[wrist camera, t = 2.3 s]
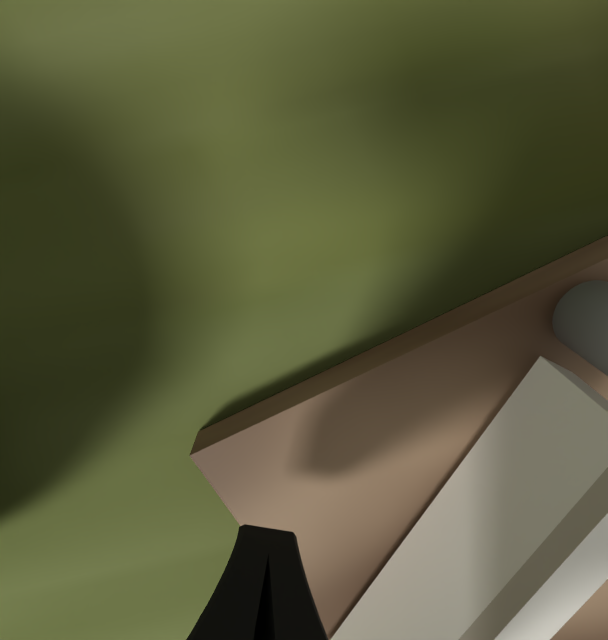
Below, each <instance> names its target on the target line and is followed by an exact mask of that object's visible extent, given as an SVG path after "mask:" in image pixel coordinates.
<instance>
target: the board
mask: <svg viewBox="0 0 608 640" xmlns="http://www.w3.org/2000/svg"><path fill="white" fill-rule="evenodd" d="M593 280H601V281H607V282H608V235H607V236H605V237H603V238H601V239H599V240H597V241H595V242H593V243H591V244H589V245H587V246H585V247H582V248H580V249H578V250H576V251H574V252H572V253H570V254H568V255H566V256H564V257H562V258H559V259H557V260H555V261H553V262H551V263H549V264H547V265H545V266H543V267H541V268H539V269H537V270H534V271H532V272H530V273H528V274H526V275H524V276H522V277H520V278H518V279H516V280H514V281H511V282H509V283H507V284H505V285H503V286H501V287H499V288H497V289H495V290H493V291H491V292H489V293H486V294H484V295H482V296H480V297H478V298H476V299H474V300H472V301H470V302H468V303H466V304H464V305H461V306H459V307H457V308H455V309H453V310H451V311H449V312H447V313H445V314H443V315H441V316H438V317H436V318H434V319H432V320H430V321H428V322H426V323H424V324H422V325H420V326H418V327H416V328H413V329H411V330H409V331H407V332H405V333H403V334H401V335H399V336H397V337H395V338H393V339H390V340H388V341H386V342H384V343H382V344H380V345H378V346H376V347H374V348H372V349H370V350H368V351H365V352H363V353H361V354H359V355H357V356H355V357H353V358H351V359H349V360H347V361H345V362H342V363H340V364H338V365H336V366H334V367H332V368H330V369H328V370H326V371H324V372H322V373H320V374H317V375H315V376H313V377H311V378H309V379H307V380H305V381H303V382H301V383H299V384H297V385H295V386H292V387H290V388H288V389H286V390H284V391H282V392H280V393H278V394H276V395H274V396H272V397H269V398H267V399H265V400H263V401H261V402H259V403H257V404H255V405H253V406H251V407H249V408H247V409H244V410H242V411H240V412H238V413H236V414H234V415H232V416H230V417H228V418H226V419H224V420H221V421H219V422H217V423H215V424H213V425H211V426H209V427H207V428H205V429H203V430H201V431H199V432H198V434H197V436H196V439H195V442H194V445H193V448H192V450H191V453H190V457H191V458H192V460H193V461H194V462H195V464H196V465H197V466H198V468H199V469H200V471H201V472H202V473H203V475H204V476H205V477H206V479H207V480H208V482H209V483H210V484H211V486H212V487H213V488H214V490H215V491H216V493H217V494H218V495H219V497H220V498H221V500H222V501H223V502H224V504H225V505H226V506H227V508H228V509H229V511H230V512H231V513H232V515H233V516H234V517H235V519H236V520H237V522H238V523H239V524H240V526H242V525H244V524H247V525H253V526H259V527H266V528H272V529H278V530H284V531H291V532H294V534H295V535H296V537H297V543H298V547H299V552H300V556H301V560H302V564H303V567H304V571H305V574H306V578H307V581H308V584H309V587H310V590H311V593H312V596H313V599H314V602H315V605H316V608H317V610H318V613H319V616H320V619H321V622H322V624H323V627H324V629H325V632H326V634H327V637H328V639H329V640H331V638H332V637H333V635H334V634H335V633H336V631H337V630H338V629H339V627H340V626H341V625H342V623H343V622H344V621H345V619H346V618H347V617H348V615H349V614H350V612H351V611H352V610H353V608H354V607H355V606H356V604H357V603H358V602H359V600H360V599H361V598H362V596H363V595H364V594H365V592H366V591H367V590H368V588H369V587H370V585H371V584H372V583H373V581H374V580H375V579H376V577H377V576H378V575H379V573H380V572H381V571H382V569H383V568H384V567H385V565H386V564H387V562H388V561H389V560H390V558H391V557H392V556H393V554H394V553H395V552H396V550H397V549H398V548H399V546H400V545H401V544H402V542H403V541H404V540H405V538H406V537H407V535H408V534H409V533H410V531H411V530H412V529H413V527H414V526H415V525H416V523H417V522H418V521H419V519H420V518H421V517H422V515H423V514H424V512H425V511H426V510H427V508H428V507H429V506H430V504H431V503H432V502H433V500H434V499H435V498H436V496H437V495H438V494H439V492H440V491H441V489H442V488H443V487H444V485H445V484H446V483H447V481H448V480H449V479H450V477H451V476H452V475H453V473H454V472H455V471H456V469H457V468H458V467H459V465H460V464H461V462H462V461H463V460H464V458H465V457H466V456H467V454H468V453H469V452H470V450H471V449H472V448H473V446H474V445H475V444H476V442H477V441H478V439H479V438H480V437H481V435H482V434H483V433H484V431H485V430H486V429H487V427H488V426H489V425H490V423H491V422H492V421H493V419H494V418H495V417H496V415H497V414H498V412H499V411H500V410H501V408H502V407H503V406H504V404H505V403H506V402H507V400H508V399H509V398H510V396H511V395H512V394H513V392H514V391H515V389H516V388H517V387H518V385H519V384H520V383H521V381H522V380H523V379H524V377H525V376H526V375H527V373H528V372H529V371H530V369H531V368H532V366H533V365H534V364H535V362H536V361H537V360H538V358H539V357H540V356H542V357H544V358H546V359H547V360H549V361H551V362H553V363H555V364H557V365H559V366H561V367H563V368H565V369H567V370H569V371H571V372H573V373H574V374H575V375H576V376H578V377H579V378H580V379H581V380H583V381H584V382H585V383H586V384H588V385H589V386H590V387H591V388H593V389H594V390H595V391H596V392H598V393H599V394H600V395H601V396H603V397H604V398H605V399H606V400H608V376H607V375H605V374H604V373H603V372H601V371H600V370H598V369H597V368H596V367H594V366H593V365H592V364H590V363H589V362H587V361H586V360H585V359H583V358H582V357H580V356H579V355H578V354H576V353H575V352H574V351H572V350H571V349H569V348H568V347H567V346H565V345H564V344H563V343H561V342H560V341H559V340H558V338H557V337H556V335H555V333H554V330H553V324H552V320H553V314H554V310H555V308H556V306H557V304H558V302H559V301H560V299H561V298H562V297H563V296H564V295H565V294H566V293H567V292H568V291H569V290H570V289H572V288H573V287H575V286H577V285H579V284H581V283H584V282H588V281H593ZM550 640H608V579H607V580H606V581H605V582H604V583H603V584H602V586H601V587H600V588H599V589H598V590H597V591H596V592H595V593H594V594H593V595H592V596H591V597H590V598H589V599H588V600H587V601H586V602H585V603H584V604H583V605H582V606H581V608H580V609H579V610H578V611H577V612H576V613H575V614H574V615H573V616H572V617H571V618H570V619H569V620H568V621H567V622H566V623H565V624H564V625H563V626H562V627H561V628H560V630H559V631H558V632H557V633H556V634H555V635H554V636H553V637H552V638H551V639H550Z"/></svg>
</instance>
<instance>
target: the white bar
mask: <svg viewBox="0 0 608 640" xmlns="http://www.w3.org/2000/svg"><path fill="white" fill-rule="evenodd" d="M552 324H553V330H554V333H555V335H556V337H557V338H558V340H559V341H560V342H561V343H563V344H564V345H565V346H567V347H568V348H569V349H571V350H572V351H574V352H575V353H576V354H578V355H579V356H580V357H582V358H583V359H585V360H586V361H587V362H589V363H590V364H592V365H593V366H594V367H596V368H597V369H598V370H600V371H601V372H603V373H604V374H605V375H607V376H608V282H607V281H601V280H593V281H588V282H584V283H581V284H579V285H577V286H575V287H573V288H572V289H570V290H569V291H568V292H567V293H566V294H565V295H564V296H563V297H562V298H561V299H560V301H559V302H558V304H557V306H556V308H555V310H554V314H553V320H552ZM607 579H608V400H606V399H605V398H604V397H603V396H601V395H600V394H599V393H598V392H596V391H595V390H594V389H593V388H591V387H590V386H589V385H588V384H586V383H585V382H584V381H583V380H581V379H580V378H579V377H578V376H576V375H575V374H574V373H573V372H571V371H569V370H567V369H565V368H563V367H561V366H559V365H557V364H555V363H553V362H551V361H549V360H547V359H546V358H544V357H542V356H540V357H539V358H538V360H537V361H536V362H535V364H534V365H533V366H532V368H531V369H530V371H529V372H528V373H527V375H526V376H525V377H524V379H523V380H522V381H521V383H520V384H519V385H518V387H517V388H516V389H515V391H514V392H513V394H512V395H511V396H510V398H509V399H508V400H507V402H506V403H505V404H504V406H503V407H502V408H501V410H500V411H499V412H498V414H497V415H496V417H495V418H494V419H493V421H492V422H491V423H490V425H489V426H488V427H487V429H486V430H485V431H484V433H483V434H482V435H481V437H480V438H479V439H478V441H477V442H476V444H475V445H474V446H473V448H472V449H471V450H470V452H469V453H468V454H467V456H466V457H465V458H464V460H463V461H462V462H461V464H460V465H459V467H458V468H457V469H456V471H455V472H454V473H453V475H452V476H451V477H450V479H449V480H448V481H447V483H446V484H445V485H444V487H443V488H442V489H441V491H440V492H439V494H438V495H437V496H436V498H435V499H434V500H433V502H432V503H431V504H430V506H429V507H428V508H427V510H426V511H425V512H424V514H423V515H422V517H421V518H420V519H419V521H418V522H417V523H416V525H415V526H414V527H413V529H412V530H411V531H410V533H409V534H408V535H407V537H406V538H405V540H404V541H403V542H402V544H401V545H400V546H399V548H398V549H397V550H396V552H395V553H394V554H393V556H392V557H391V558H390V560H389V561H388V562H387V564H386V565H385V567H384V568H383V569H382V571H381V572H380V573H379V575H378V576H377V577H376V579H375V580H374V581H373V583H372V584H371V585H370V587H369V588H368V590H367V591H366V592H365V594H364V595H363V596H362V598H361V599H360V600H359V602H358V603H357V604H356V606H355V607H354V608H353V610H352V611H351V612H350V614H349V615H348V617H347V618H346V619H345V621H344V622H343V623H342V625H341V626H340V627H339V629H338V630H337V631H336V633H335V634H334V635H333V637H332V638H331V640H550V639H551V638H552V637H553V636H554V635H555V634H556V633H557V632H558V631H559V630H560V628H561V627H562V626H563V625H564V624H565V623H566V622H567V621H568V620H569V619H570V618H571V617H572V616H573V615H574V614H575V613H576V612H577V611H578V610H579V609H580V608H581V606H582V605H583V604H584V603H585V602H586V601H587V600H588V599H589V598H590V597H591V596H592V595H593V594H594V593H595V592H596V591H597V590H598V589H599V588H600V587H601V586H602V584H603V583H604V582H605V581H606V580H607Z"/></svg>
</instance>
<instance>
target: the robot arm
mask: <svg viewBox="0 0 608 640" xmlns="http://www.w3.org/2000/svg"><path fill="white" fill-rule="evenodd" d="M187 640H329V639H328V637H327V634H326V632H325V629H324V627H323V624H322V622H321V619H320V616H319V613H318V610H317V608H316V605H315V602H314V599H313V596H312V593H311V590H310V587H309V584H308V581H307V578H306V574H305V571H304V567H303V564H302V560H301V556H300V552H299V547H298V543H297V537H296V535H295V534H294V532H291V531H284V530H278V529H272V528H266V527H259V526H253V525H247V524H244V525H242V526H240V527H239V531H238V536H237V540H236V543H235V546H234V549H233V551H232V554H231V557H230V559H229V561H228V564H227V566H226V568H225V571H224V573H223V575H222V577H221V579H220V581H219V583H218V585H217V587H216V589H215V591H214V593H213V595H212V597H211V598H210V600H209V602H208V604H207V606H206V607H205V609H204V611H203V613H202V614H201V616H200V618H199V619H198V621H197V623H196V625H195V626H194V628H193V630H192V632H191V633H190V635H189V636H188V638H187Z"/></svg>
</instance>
